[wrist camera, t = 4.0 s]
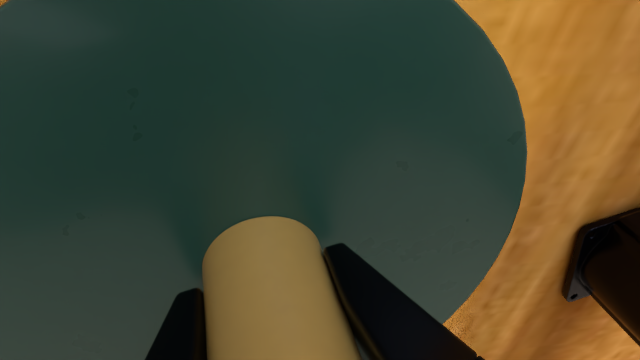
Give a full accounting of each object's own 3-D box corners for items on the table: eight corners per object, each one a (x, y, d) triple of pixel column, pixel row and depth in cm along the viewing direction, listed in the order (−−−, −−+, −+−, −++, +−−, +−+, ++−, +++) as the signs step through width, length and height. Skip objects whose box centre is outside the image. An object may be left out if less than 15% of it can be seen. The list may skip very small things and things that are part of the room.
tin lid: (483, 305, 14) (592, 463, 10) (109, 431, 13) (80, 663, 9) (526, -154, 7) (928, -178, 3) (-306, 31, 6) (-1202, 339, 2)
